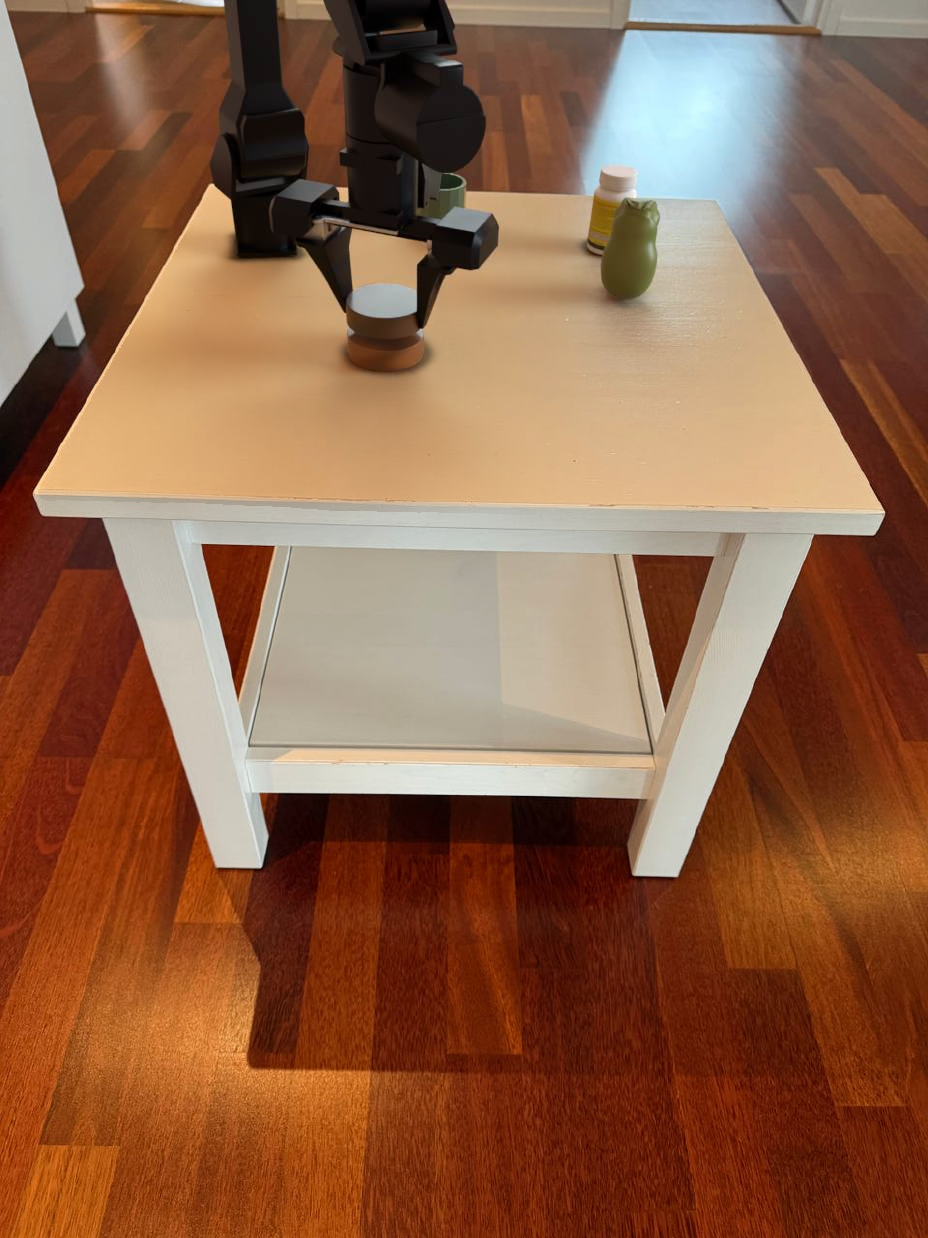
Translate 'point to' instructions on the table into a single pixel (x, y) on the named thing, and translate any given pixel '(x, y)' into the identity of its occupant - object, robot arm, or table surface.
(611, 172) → the supplement bottle
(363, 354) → the teak chip
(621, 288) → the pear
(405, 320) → the walnut chip
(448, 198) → the plastic cup
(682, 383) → the table surface
